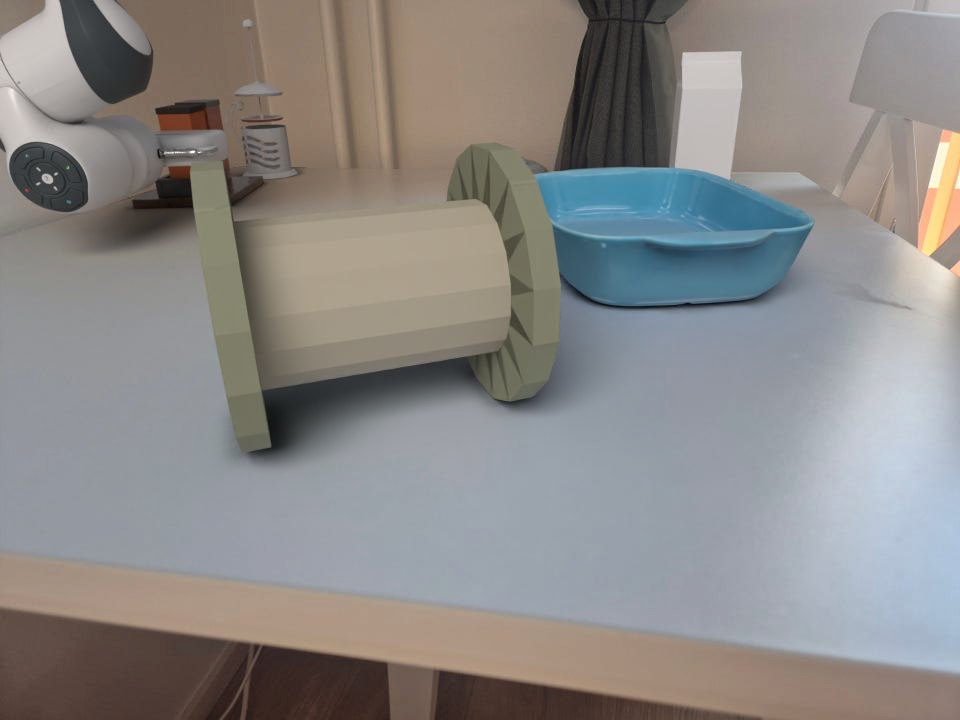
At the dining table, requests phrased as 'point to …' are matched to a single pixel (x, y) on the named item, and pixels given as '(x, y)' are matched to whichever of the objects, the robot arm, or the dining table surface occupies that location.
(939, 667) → the dining table surface
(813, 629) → the dining table surface
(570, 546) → the dining table surface
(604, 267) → the casserole dish
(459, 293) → the spool
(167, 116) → the loose pad
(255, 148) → the french press
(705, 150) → the milk carton
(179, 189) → the pad dock
